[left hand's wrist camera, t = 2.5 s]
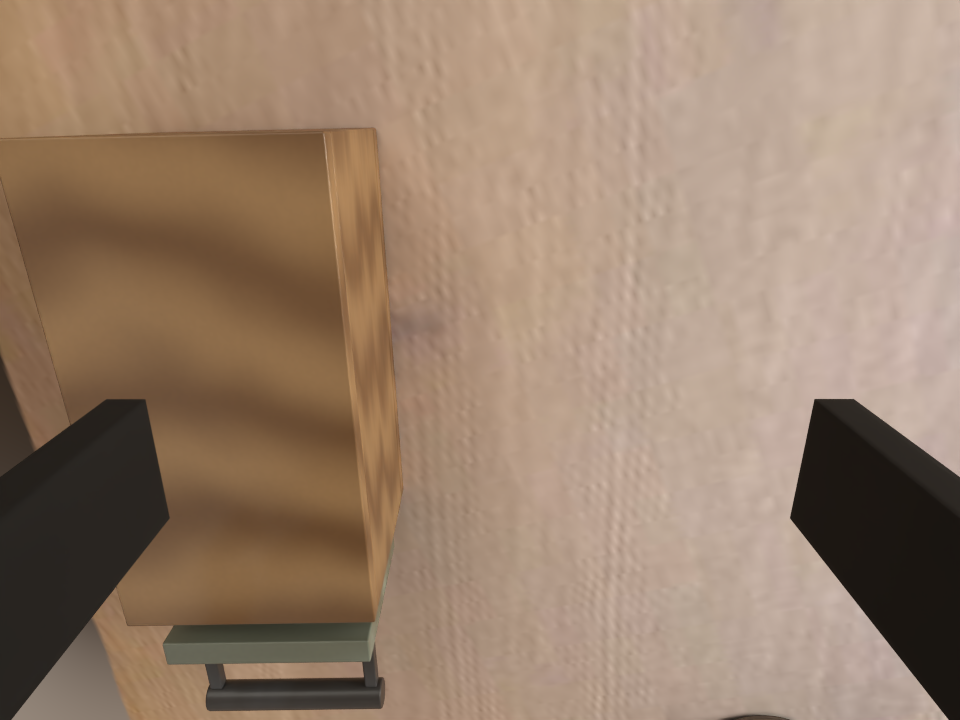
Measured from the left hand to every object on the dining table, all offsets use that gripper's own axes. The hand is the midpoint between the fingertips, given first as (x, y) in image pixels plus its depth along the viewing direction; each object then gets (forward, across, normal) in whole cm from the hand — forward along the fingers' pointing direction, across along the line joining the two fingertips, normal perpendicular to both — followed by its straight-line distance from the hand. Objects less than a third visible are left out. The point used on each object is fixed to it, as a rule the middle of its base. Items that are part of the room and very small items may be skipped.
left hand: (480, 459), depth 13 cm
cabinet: (+19, -10, -3) cm, 22 cm away
